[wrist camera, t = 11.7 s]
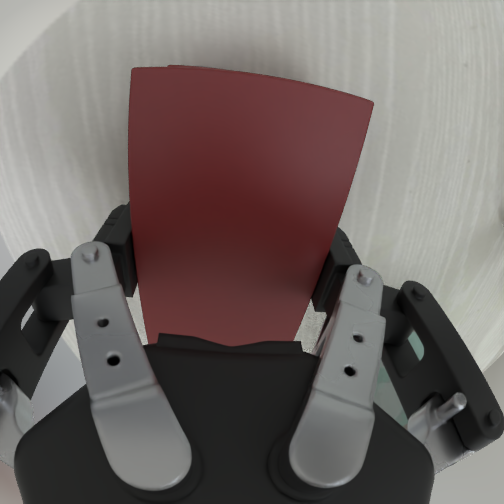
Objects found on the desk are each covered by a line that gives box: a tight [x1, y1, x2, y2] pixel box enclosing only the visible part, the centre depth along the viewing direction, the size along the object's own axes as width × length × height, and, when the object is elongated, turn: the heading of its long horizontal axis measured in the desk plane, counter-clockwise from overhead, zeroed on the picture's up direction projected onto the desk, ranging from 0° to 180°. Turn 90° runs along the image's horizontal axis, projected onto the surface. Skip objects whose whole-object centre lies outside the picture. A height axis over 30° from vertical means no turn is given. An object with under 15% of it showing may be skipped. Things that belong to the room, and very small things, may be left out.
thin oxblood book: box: [128, 67, 374, 346], centre depth 10 cm, size 12×6×2 cm, turn 171°
